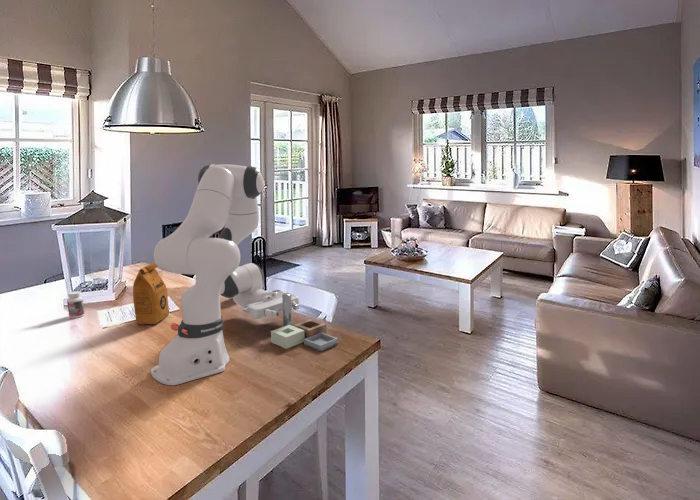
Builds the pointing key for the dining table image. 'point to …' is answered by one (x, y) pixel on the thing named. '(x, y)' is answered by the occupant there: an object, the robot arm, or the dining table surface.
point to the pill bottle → (75, 305)
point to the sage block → (287, 336)
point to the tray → (321, 341)
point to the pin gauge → (287, 309)
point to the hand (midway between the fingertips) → (287, 310)
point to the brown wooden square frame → (311, 327)
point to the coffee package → (150, 296)
